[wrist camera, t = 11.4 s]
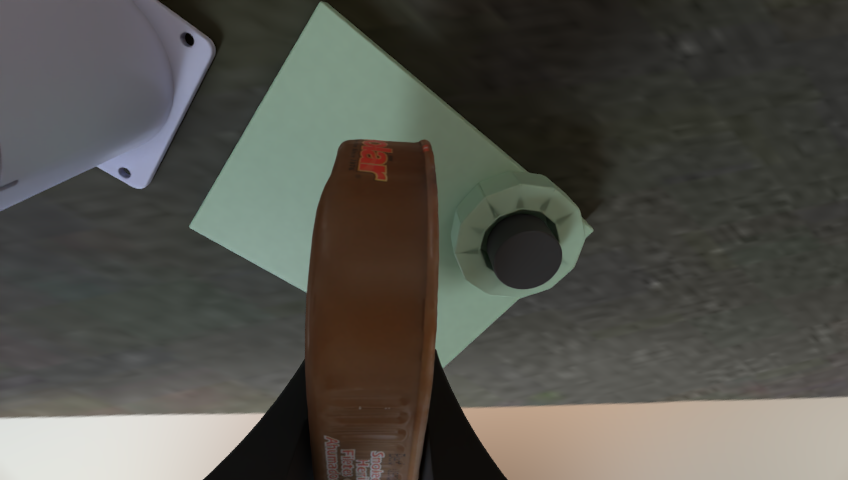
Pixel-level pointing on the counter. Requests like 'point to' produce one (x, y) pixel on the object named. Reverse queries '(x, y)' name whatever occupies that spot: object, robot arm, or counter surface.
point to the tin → (372, 311)
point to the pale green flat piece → (389, 121)
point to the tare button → (523, 251)
